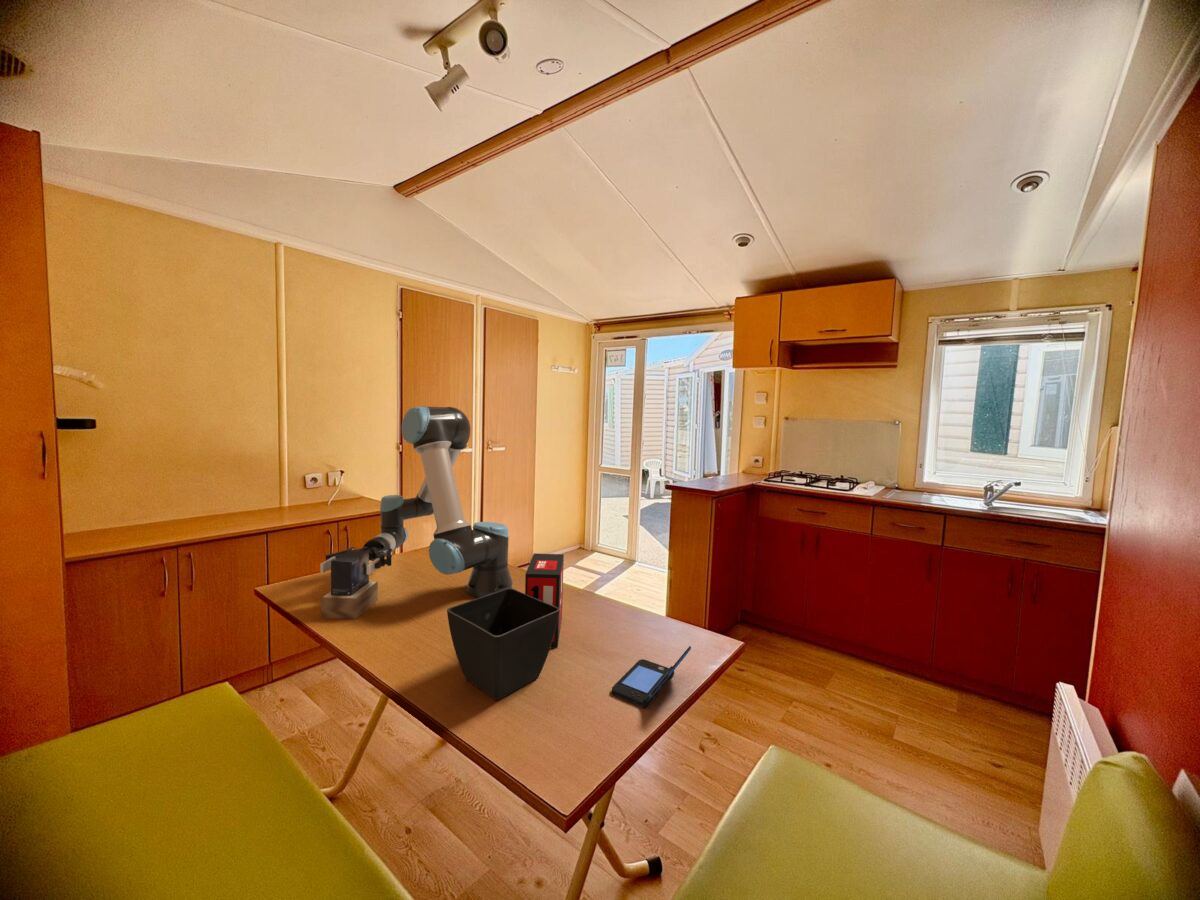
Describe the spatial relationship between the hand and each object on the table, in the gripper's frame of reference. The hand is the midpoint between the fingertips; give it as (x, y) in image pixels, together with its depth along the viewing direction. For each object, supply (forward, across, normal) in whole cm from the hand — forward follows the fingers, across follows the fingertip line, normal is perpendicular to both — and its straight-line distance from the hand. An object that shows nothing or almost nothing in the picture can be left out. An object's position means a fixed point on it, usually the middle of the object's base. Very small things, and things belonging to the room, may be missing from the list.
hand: (344, 569), depth 134 cm
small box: (-3, 0, -7) cm, 8 cm away
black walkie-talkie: (+31, -88, -14) cm, 94 cm away
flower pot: (+29, -53, -14) cm, 62 cm away
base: (-3, 0, -14) cm, 14 cm away
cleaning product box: (+7, -60, -14) cm, 62 cm away
